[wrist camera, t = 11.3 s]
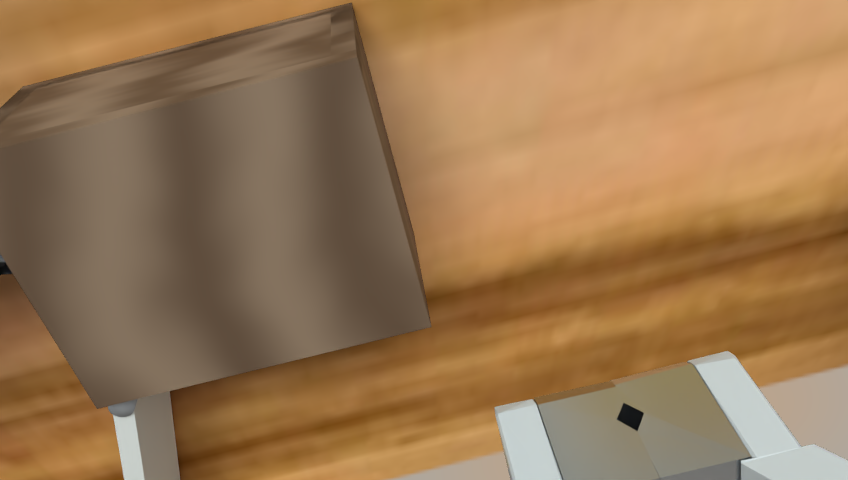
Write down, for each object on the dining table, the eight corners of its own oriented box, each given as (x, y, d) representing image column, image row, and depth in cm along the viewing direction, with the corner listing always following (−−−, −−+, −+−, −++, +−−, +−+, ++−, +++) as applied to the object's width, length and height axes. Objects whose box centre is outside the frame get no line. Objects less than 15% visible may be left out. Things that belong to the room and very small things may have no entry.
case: (351, 2, 35) (356, 57, 28) (413, 233, 42) (431, 326, 34) (22, 86, 35) (-57, 162, 28) (137, 302, 42) (97, 408, 35)
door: (184, 490, 50) (162, 592, 43) (151, 491, 49) (124, 594, 43) (162, 307, 42) (132, 398, 36) (123, 307, 42) (86, 398, 36)
